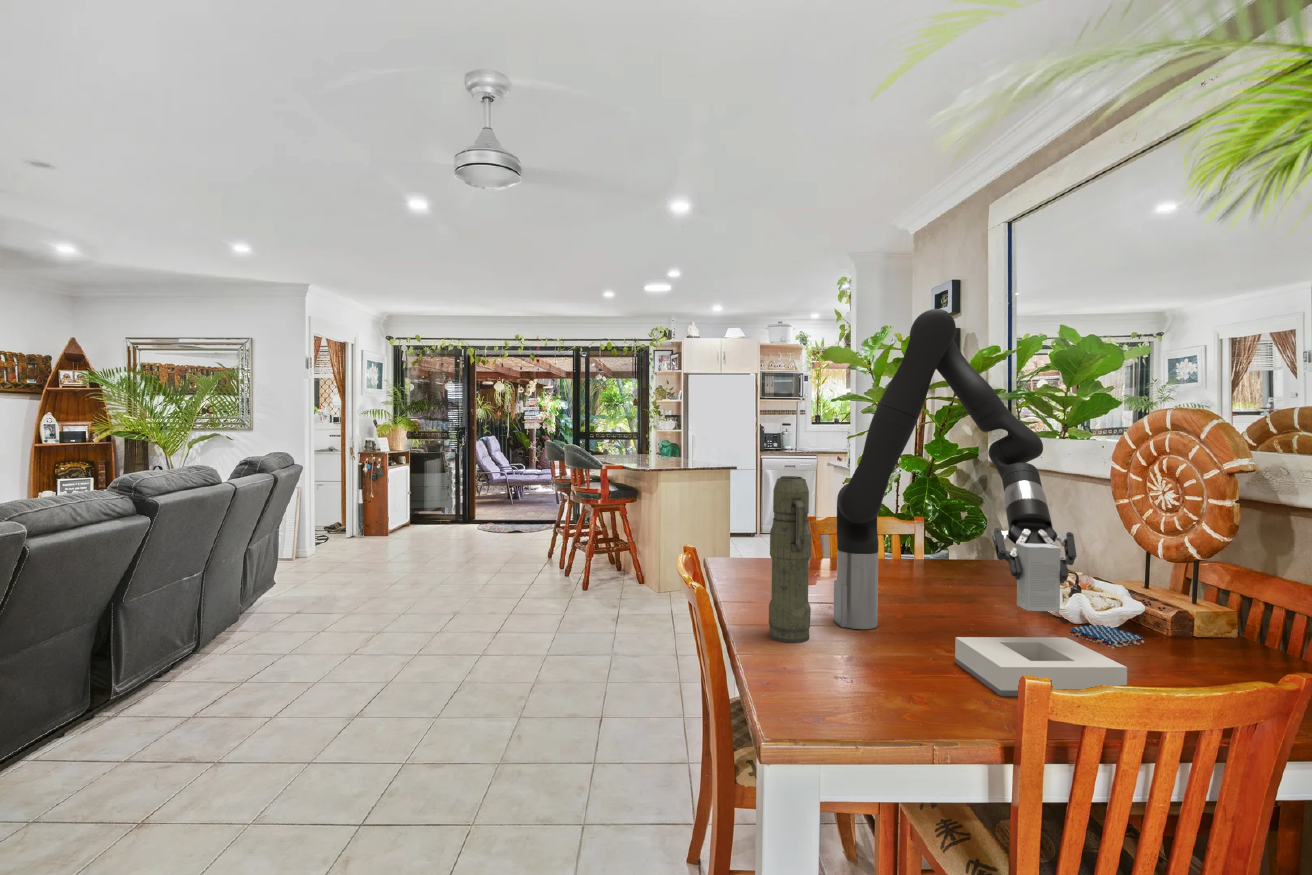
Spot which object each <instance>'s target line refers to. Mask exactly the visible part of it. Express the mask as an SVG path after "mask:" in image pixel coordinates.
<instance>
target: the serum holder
mask: <svg viewBox="0 0 1312 875" xmlns="http://www.w3.org/2000/svg"><path fill="white" fill-rule="evenodd" d="M954 638H955V641H954V642H955V643H954V644H955V645H954V647H955V649H954V663H955V664H956V665H957V666H959V667H961V668H962V669H963V670H965V671H966V672H967V673H968V674H970V675H971V676H973V677H974V678H976V679H977V680H978V681H979V682H981V683H982V684H983V685H984V686H986V687H987V688H989V689H990V690H992V691H993V692H995V694H997V695H998V696H1000V697H1019V696H1018V685H1019V680H1020V678H1021V677H1022V676H1035V677H1045V678H1049V679H1050V680H1052V686H1053V689H1086V688H1090V687H1095V686H1100V685H1127V686H1128V667H1127V666H1125V665H1123V664H1122V663H1119V662H1117V661H1115V660H1113V659H1111V658H1109V657H1107V656H1105V655H1103V654H1101V653H1099V652H1097V651H1095V650H1093V649H1090V648H1088V647H1086V646H1084V645H1082V644H1080V643H1078V642H1076V641H1075V640H1072V639H1070V638H1068V637H1063V636H1062V637H1059V636H1057V637H1056V636H1055V637H1053V636H1049V637H1048V636H1047V637H1046V636H1045V637H1041V636H1040V637H1033V636H1032V637H1031V636H1030V637H1029V636H1028V637H1026V636H1025V637H1023V636H1021V637H1019V636H1016V637H1015V636H1014V637H1012V636H1010V637H1008V636H1007V637H1005V636H1003V637H1000V636H999V637H998V636H997V637H996V636H995V637H993V636H992V637H990V636H985V637H984V636H981V637H980V636H979V637H978V636H974V637H973V636H966V637H965V636H963V637H962V636H956V637H954Z"/></svg>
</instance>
